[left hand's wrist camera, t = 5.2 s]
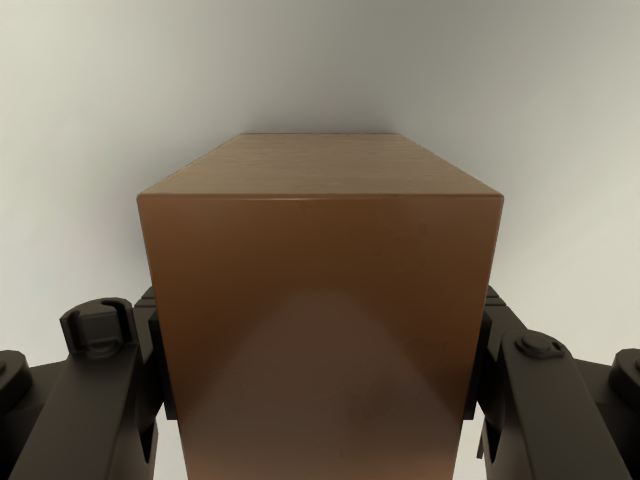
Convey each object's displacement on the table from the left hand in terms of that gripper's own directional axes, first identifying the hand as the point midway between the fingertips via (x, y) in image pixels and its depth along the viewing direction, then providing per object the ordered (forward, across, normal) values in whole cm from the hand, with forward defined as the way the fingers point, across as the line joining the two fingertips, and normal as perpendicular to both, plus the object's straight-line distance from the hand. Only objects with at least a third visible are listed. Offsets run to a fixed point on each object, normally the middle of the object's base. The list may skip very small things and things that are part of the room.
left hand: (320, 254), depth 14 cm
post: (+1, 0, -37) cm, 37 cm away
